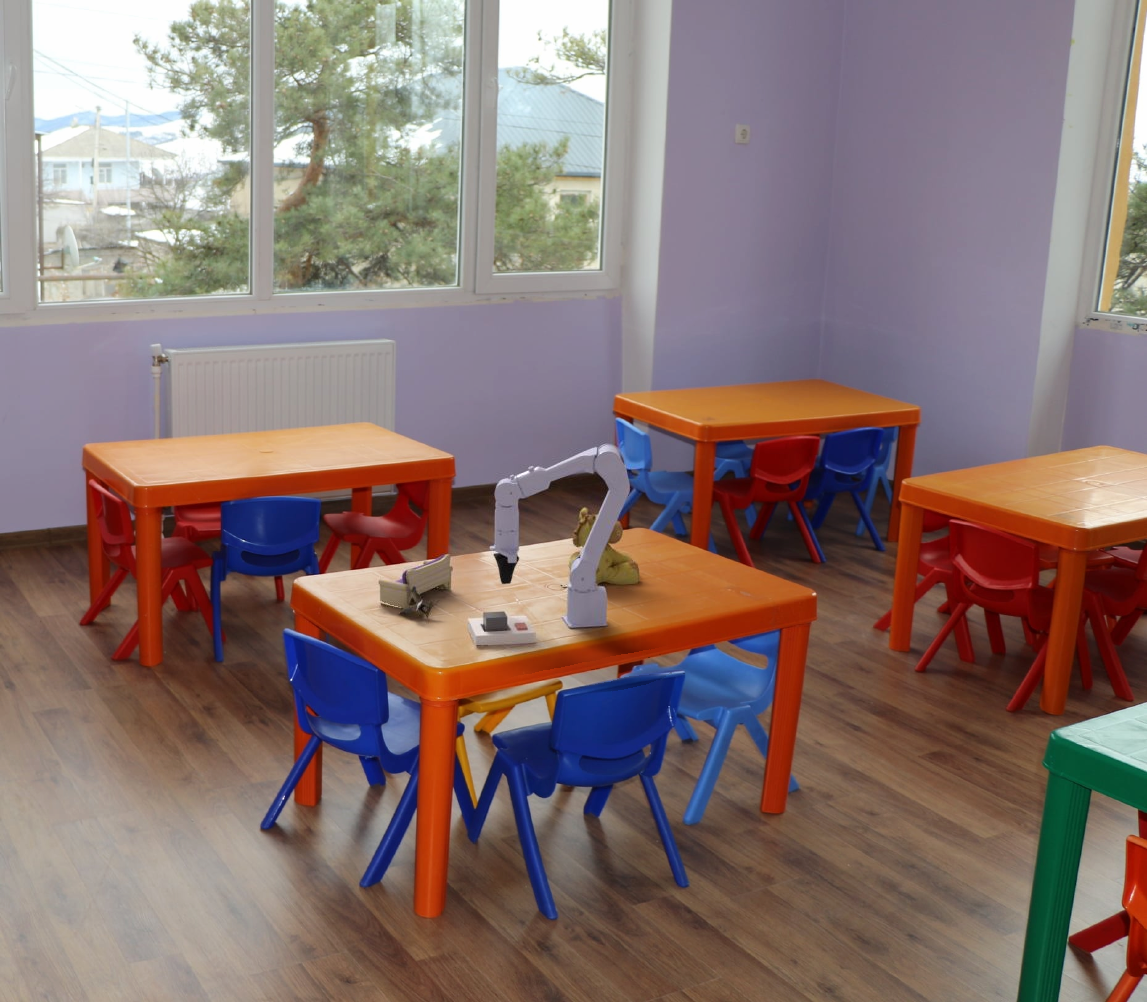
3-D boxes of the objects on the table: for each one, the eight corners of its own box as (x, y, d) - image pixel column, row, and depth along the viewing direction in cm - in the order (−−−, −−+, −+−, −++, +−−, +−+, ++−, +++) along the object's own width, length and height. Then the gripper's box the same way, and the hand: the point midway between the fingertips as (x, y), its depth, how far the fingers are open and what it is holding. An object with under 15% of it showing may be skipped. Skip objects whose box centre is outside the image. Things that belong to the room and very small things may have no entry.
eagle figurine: (443, 608, 315) (415, 595, 319) (436, 590, 309) (409, 577, 314) (424, 630, 311) (396, 616, 315) (417, 613, 306) (389, 599, 310)
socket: (525, 625, 308) (525, 613, 307) (535, 642, 297) (535, 630, 296) (467, 628, 305) (467, 616, 304) (475, 646, 293) (475, 633, 293)
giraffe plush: (652, 579, 346) (656, 511, 342) (594, 598, 330) (596, 526, 325) (597, 563, 360) (599, 497, 355) (538, 580, 343) (539, 511, 338)
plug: (503, 631, 302) (504, 611, 300) (507, 637, 298) (507, 617, 297) (483, 632, 300) (483, 612, 299) (485, 638, 297) (486, 618, 295)
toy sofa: (425, 583, 337) (425, 546, 335) (453, 589, 333) (453, 552, 331) (377, 605, 320) (377, 566, 317) (406, 611, 316) (405, 572, 313)
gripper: (484, 521, 312) (484, 574, 315) (496, 537, 298) (495, 593, 301) (512, 520, 313) (511, 573, 317) (525, 536, 300) (524, 591, 303)
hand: (505, 583), depth 309 cm, fingers closed
